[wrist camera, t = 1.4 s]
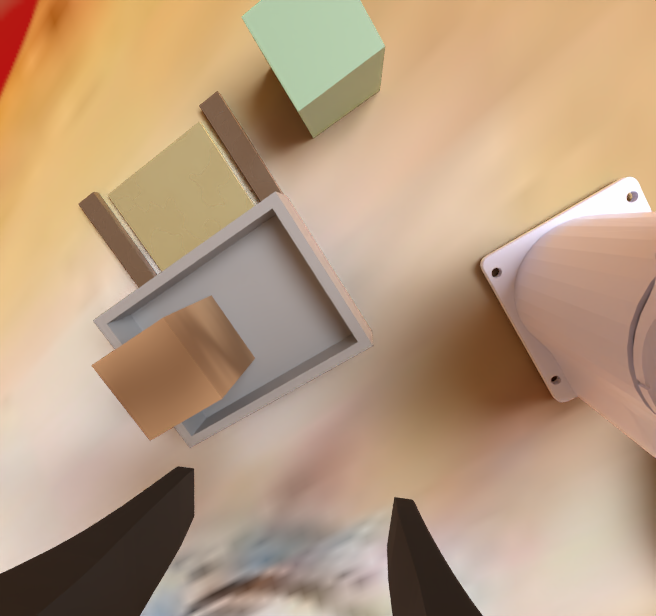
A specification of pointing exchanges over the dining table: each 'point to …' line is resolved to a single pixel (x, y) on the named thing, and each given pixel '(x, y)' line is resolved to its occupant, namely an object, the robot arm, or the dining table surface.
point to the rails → (182, 195)
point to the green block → (319, 55)
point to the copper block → (176, 366)
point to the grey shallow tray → (255, 309)
